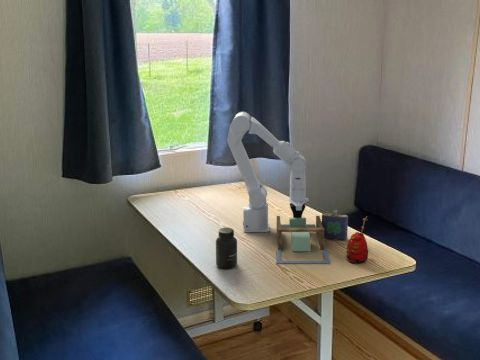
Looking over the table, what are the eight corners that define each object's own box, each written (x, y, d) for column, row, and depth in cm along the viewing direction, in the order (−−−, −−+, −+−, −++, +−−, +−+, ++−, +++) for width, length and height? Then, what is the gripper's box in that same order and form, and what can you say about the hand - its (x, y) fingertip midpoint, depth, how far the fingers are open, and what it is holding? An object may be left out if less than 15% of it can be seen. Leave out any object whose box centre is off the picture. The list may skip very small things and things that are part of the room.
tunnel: (277, 249, 182) (278, 229, 180) (276, 232, 197) (276, 213, 195) (324, 249, 181) (324, 229, 179) (319, 232, 197) (319, 213, 195)
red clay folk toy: (344, 255, 177) (345, 212, 173) (365, 255, 177) (367, 212, 173) (347, 264, 170) (349, 220, 166) (370, 264, 169) (372, 220, 165)
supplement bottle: (235, 270, 167) (234, 234, 164) (213, 269, 168) (212, 233, 165) (239, 261, 174) (238, 226, 170) (219, 260, 175) (217, 225, 172)
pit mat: (278, 230, 199) (278, 230, 199) (278, 225, 204) (278, 224, 204) (316, 230, 198) (316, 230, 198) (314, 225, 204) (314, 224, 204)
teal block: (292, 251, 180) (292, 238, 179) (289, 229, 199) (289, 217, 198) (310, 251, 180) (310, 238, 178) (305, 229, 199) (305, 217, 197)
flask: (347, 238, 191) (348, 210, 188) (346, 241, 188) (347, 212, 185) (321, 236, 193) (322, 208, 190) (320, 239, 191) (321, 210, 188)
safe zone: (276, 263, 171) (276, 262, 171) (275, 250, 181) (275, 249, 181) (330, 263, 171) (330, 262, 171) (326, 250, 181) (326, 249, 181)
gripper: (310, 193, 189) (309, 229, 192) (306, 182, 203) (306, 215, 206) (290, 193, 189) (290, 229, 193) (288, 182, 203) (288, 215, 207)
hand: (297, 222), depth 199 cm, fingers closed
